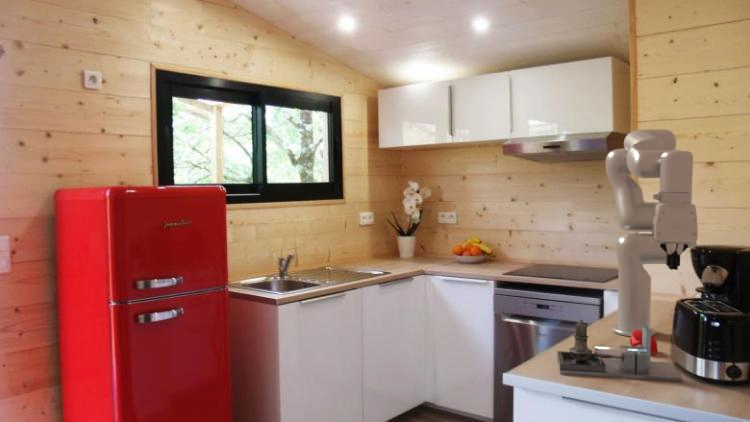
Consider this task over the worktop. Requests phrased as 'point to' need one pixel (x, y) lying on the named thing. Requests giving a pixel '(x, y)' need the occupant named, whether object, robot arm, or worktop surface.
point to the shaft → (619, 352)
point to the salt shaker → (580, 345)
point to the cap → (637, 340)
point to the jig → (619, 367)
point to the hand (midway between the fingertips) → (672, 268)
